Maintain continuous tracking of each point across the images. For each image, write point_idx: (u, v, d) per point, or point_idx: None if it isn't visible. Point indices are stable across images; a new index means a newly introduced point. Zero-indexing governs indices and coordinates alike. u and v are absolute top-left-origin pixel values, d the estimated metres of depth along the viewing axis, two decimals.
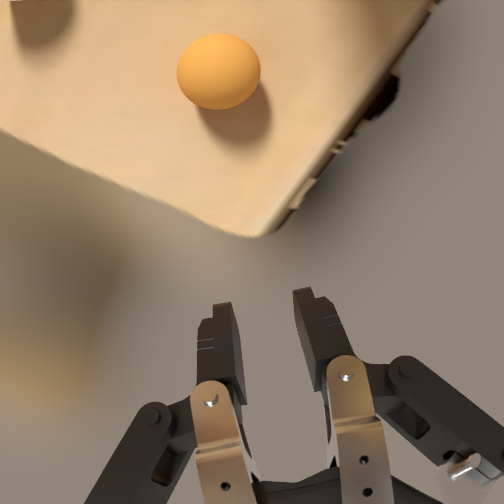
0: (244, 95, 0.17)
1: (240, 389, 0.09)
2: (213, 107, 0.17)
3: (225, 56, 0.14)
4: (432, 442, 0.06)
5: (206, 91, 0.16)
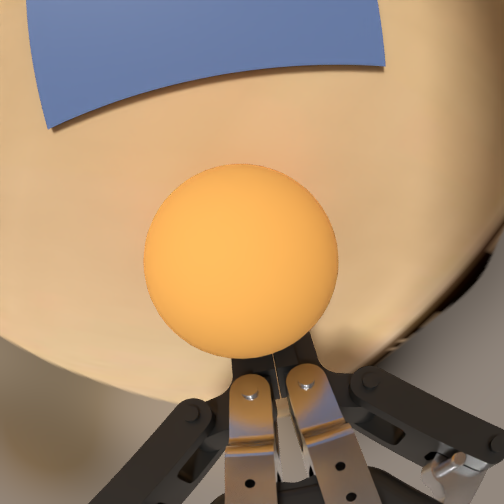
0: (304, 301, 0.06)
1: (276, 382, 0.09)
2: (216, 340, 0.07)
3: (246, 177, 0.07)
4: (411, 446, 0.06)
5: (190, 272, 0.06)
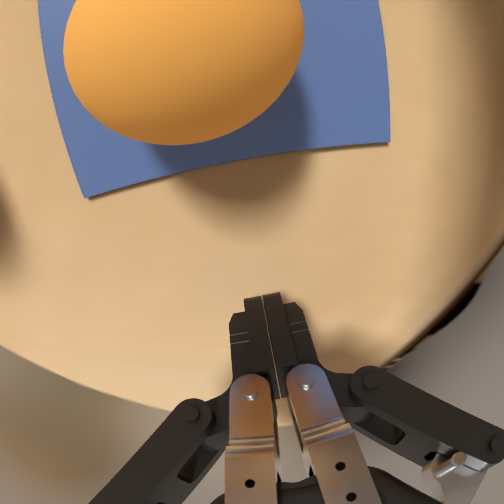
0: None
1: (276, 382, 0.09)
2: None
3: None
4: (411, 446, 0.06)
5: None
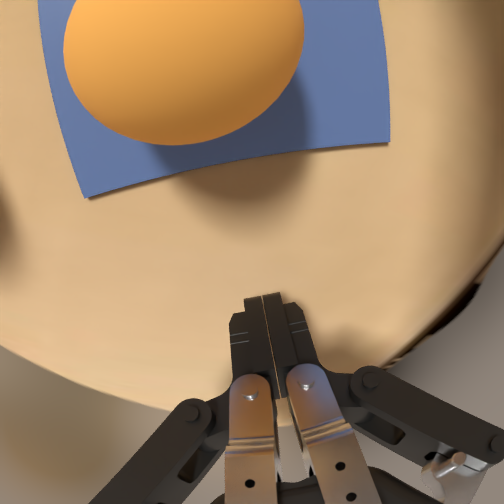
0: None
1: (276, 382, 0.09)
2: None
3: None
4: (411, 446, 0.06)
5: None
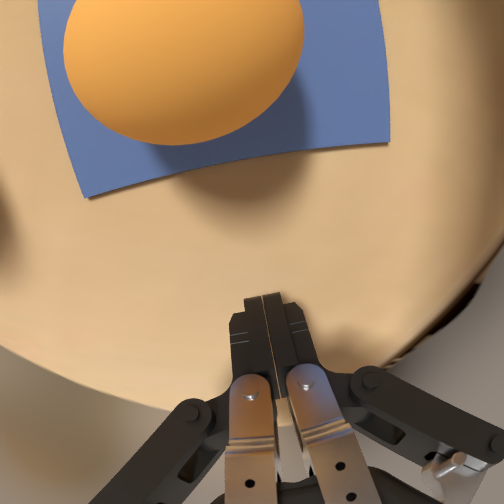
0: None
1: (276, 382, 0.09)
2: None
3: None
4: (411, 446, 0.06)
5: None
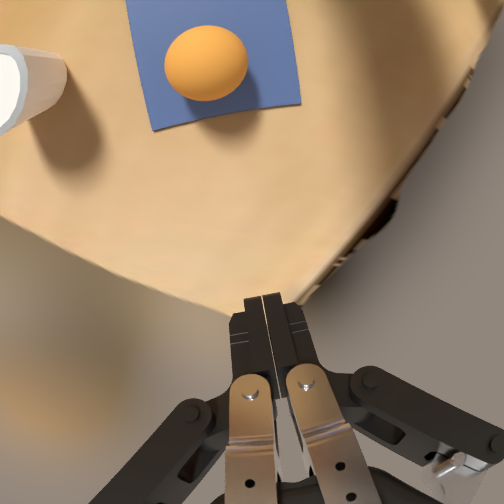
0: None
1: (276, 382, 0.09)
2: None
3: None
4: (411, 446, 0.06)
5: None
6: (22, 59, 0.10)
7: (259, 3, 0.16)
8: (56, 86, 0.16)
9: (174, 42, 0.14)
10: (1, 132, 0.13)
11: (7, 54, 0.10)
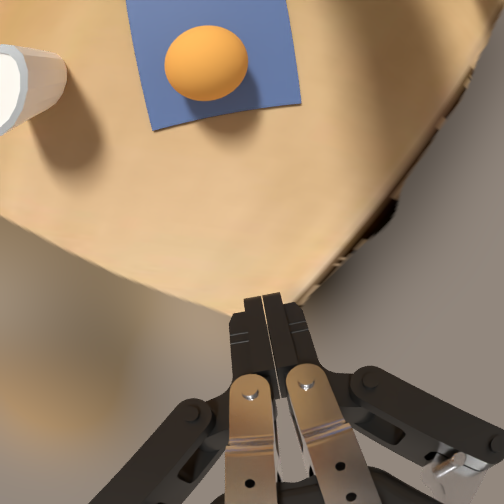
0: None
1: (276, 382, 0.09)
2: None
3: None
4: (411, 446, 0.06)
5: None
6: (22, 59, 0.10)
7: (259, 3, 0.16)
8: (56, 86, 0.16)
9: (174, 42, 0.14)
10: (1, 132, 0.13)
11: (7, 54, 0.10)
